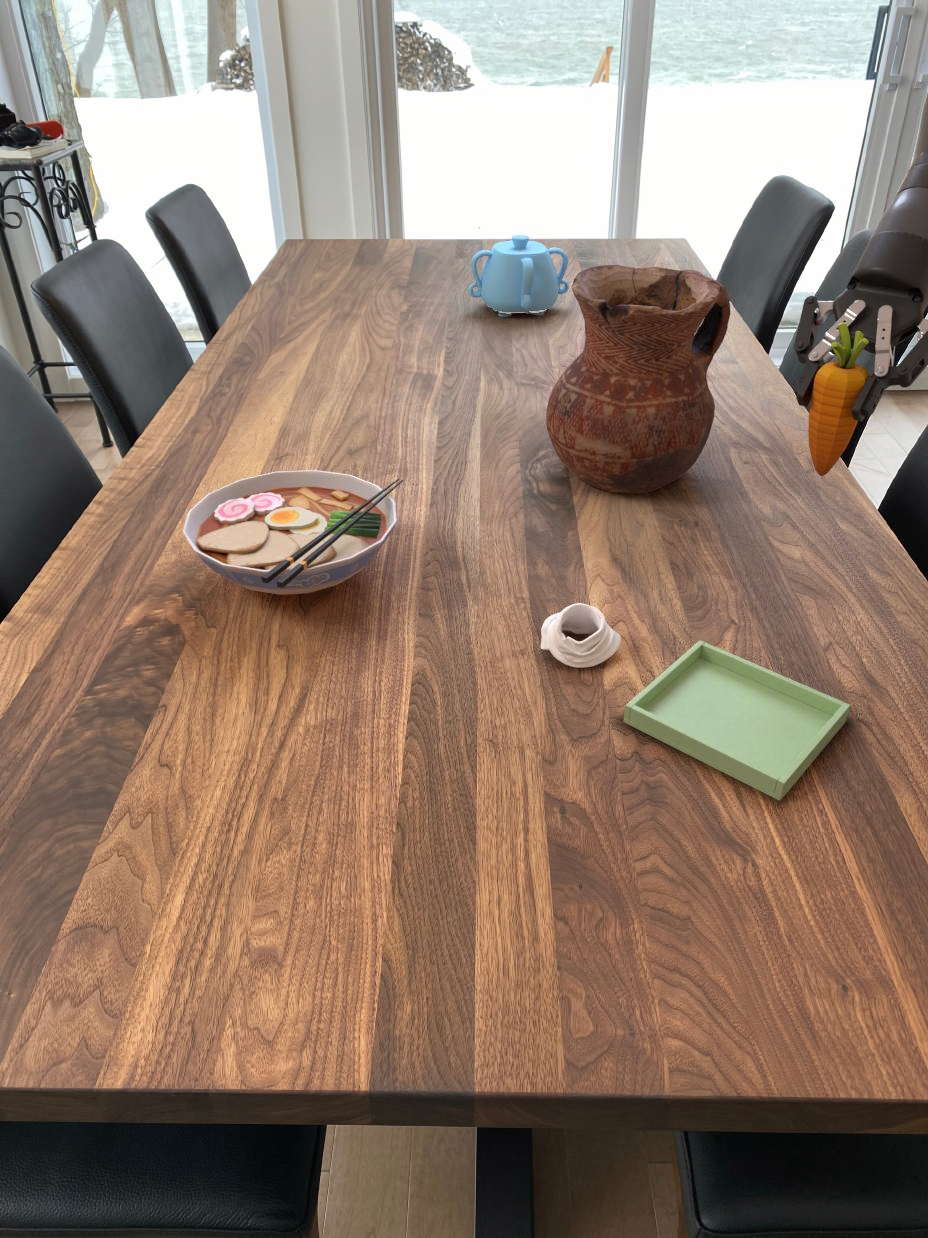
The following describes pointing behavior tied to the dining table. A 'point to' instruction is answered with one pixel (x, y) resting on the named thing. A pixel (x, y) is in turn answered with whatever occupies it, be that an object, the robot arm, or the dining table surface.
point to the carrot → (835, 402)
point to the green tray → (738, 717)
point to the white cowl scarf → (579, 622)
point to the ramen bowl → (291, 529)
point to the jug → (639, 377)
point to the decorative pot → (519, 276)
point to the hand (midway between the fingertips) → (828, 408)
